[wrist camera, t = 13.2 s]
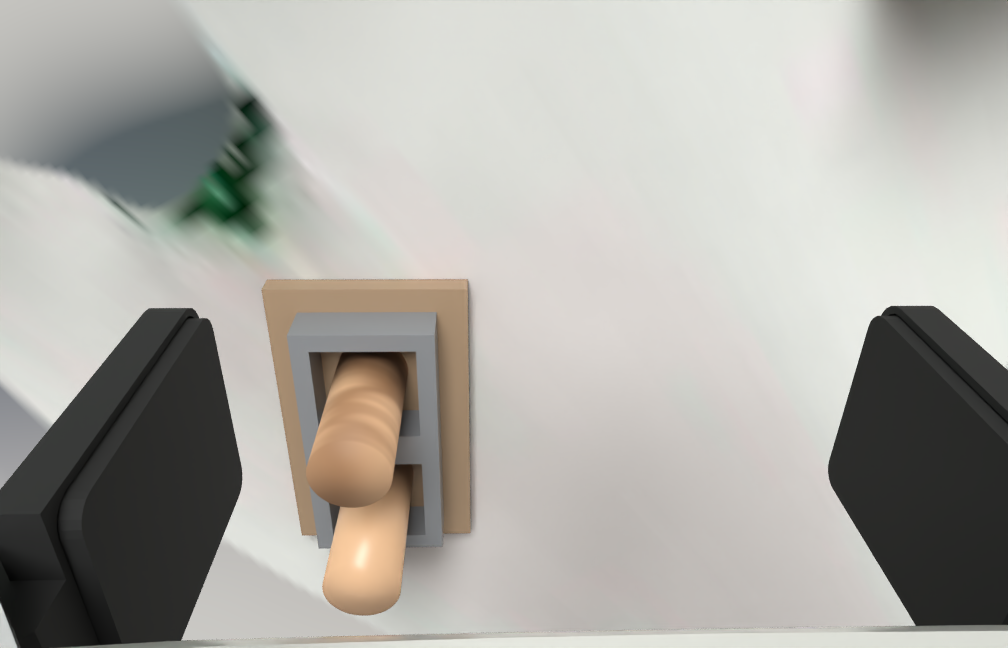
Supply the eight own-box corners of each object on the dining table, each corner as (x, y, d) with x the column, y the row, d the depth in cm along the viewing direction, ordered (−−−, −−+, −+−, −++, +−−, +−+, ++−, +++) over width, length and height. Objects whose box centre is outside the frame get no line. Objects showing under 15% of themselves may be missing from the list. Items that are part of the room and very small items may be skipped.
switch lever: (406, 339, 42) (389, 441, 34) (409, 398, 44) (395, 507, 36) (334, 340, 41) (301, 442, 34) (341, 398, 43) (311, 508, 36)
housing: (467, 279, 41) (465, 382, 32) (470, 520, 50) (469, 652, 41) (267, 279, 41) (208, 384, 32) (305, 522, 50) (268, 656, 41)
